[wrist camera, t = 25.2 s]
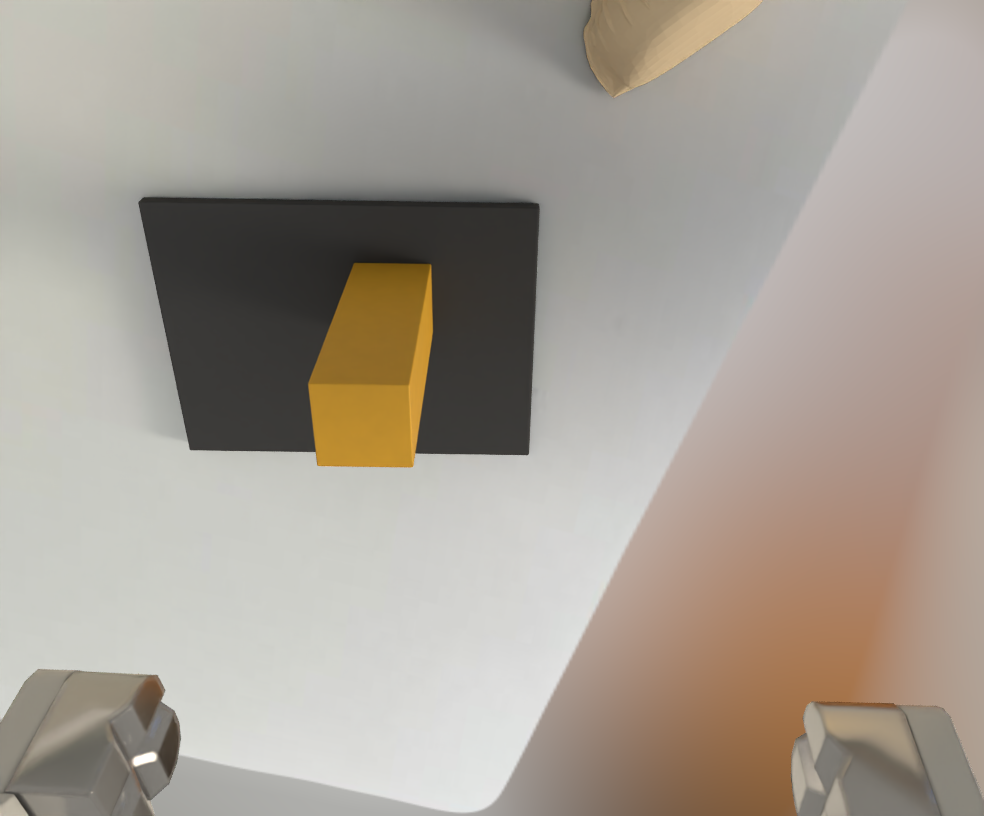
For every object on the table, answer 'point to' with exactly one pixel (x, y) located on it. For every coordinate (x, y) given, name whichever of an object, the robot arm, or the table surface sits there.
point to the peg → (374, 368)
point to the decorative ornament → (652, 36)
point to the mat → (313, 302)
